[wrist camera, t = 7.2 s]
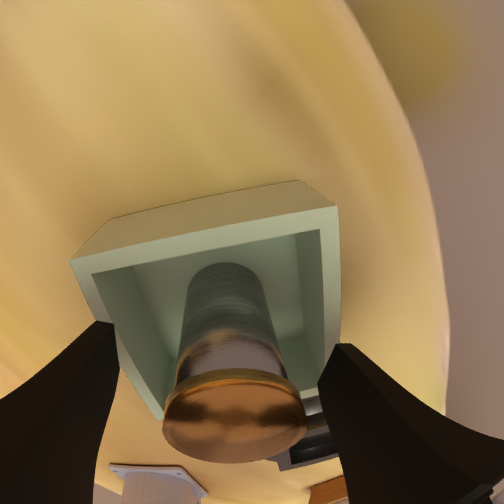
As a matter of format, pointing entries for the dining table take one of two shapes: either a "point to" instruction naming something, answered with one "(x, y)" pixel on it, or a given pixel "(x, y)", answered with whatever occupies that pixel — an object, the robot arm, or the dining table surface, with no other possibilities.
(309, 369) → the bin
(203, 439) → the jar with copper lid
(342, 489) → the soap dish
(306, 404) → the mount
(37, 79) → the dining table surface
